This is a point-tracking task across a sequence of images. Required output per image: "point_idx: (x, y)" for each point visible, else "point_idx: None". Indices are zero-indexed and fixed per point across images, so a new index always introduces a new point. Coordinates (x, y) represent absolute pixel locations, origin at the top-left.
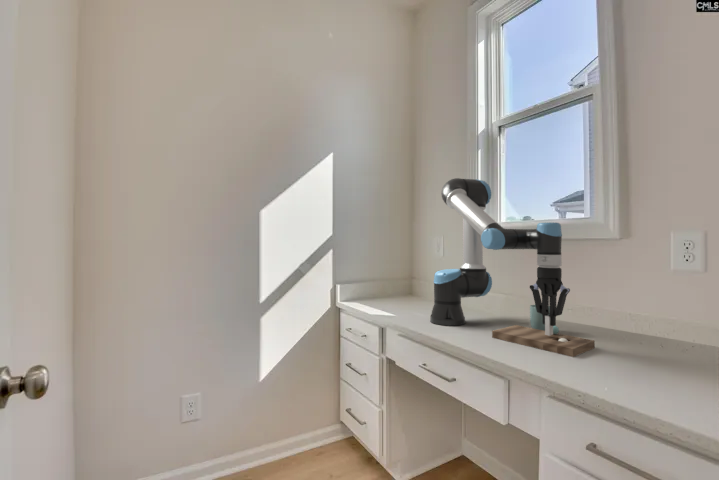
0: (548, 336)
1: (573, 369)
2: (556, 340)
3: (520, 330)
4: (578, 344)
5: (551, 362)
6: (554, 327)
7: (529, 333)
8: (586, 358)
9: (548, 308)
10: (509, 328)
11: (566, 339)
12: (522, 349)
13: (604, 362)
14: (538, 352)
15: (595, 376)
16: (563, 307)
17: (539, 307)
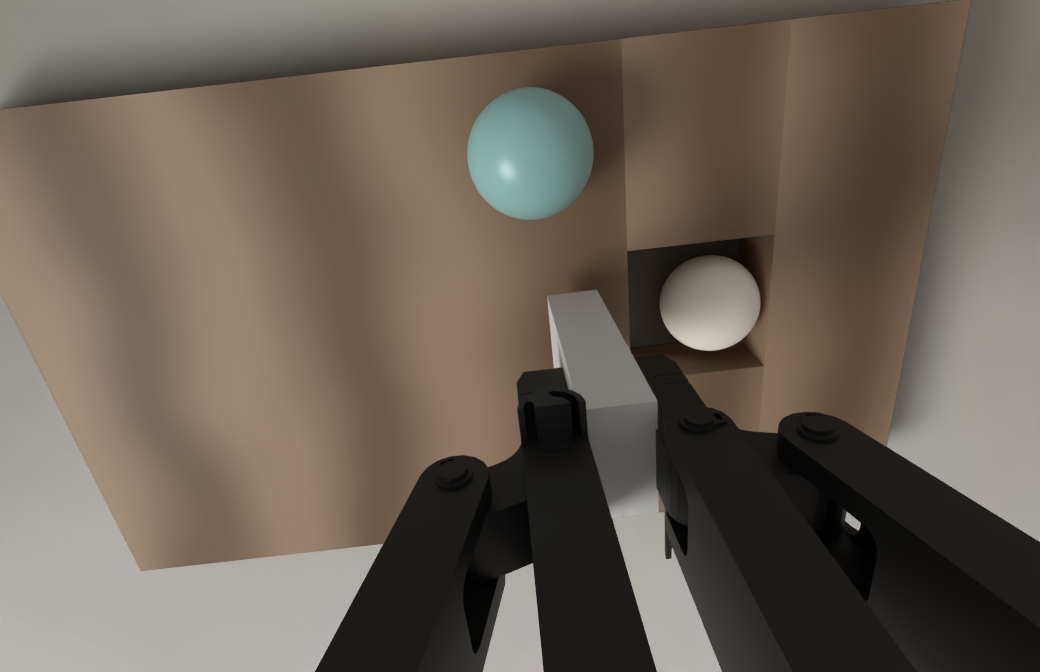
0: None
1: None
2: None
3: (223, 337)
4: (875, 331)
5: None
6: (563, 199)
7: (370, 366)
8: (919, 399)
9: (606, 508)
10: (94, 362)
11: (750, 300)
12: (532, 573)
13: (1037, 380)
14: (636, 543)
15: None
16: (984, 511)
17: (489, 637)
